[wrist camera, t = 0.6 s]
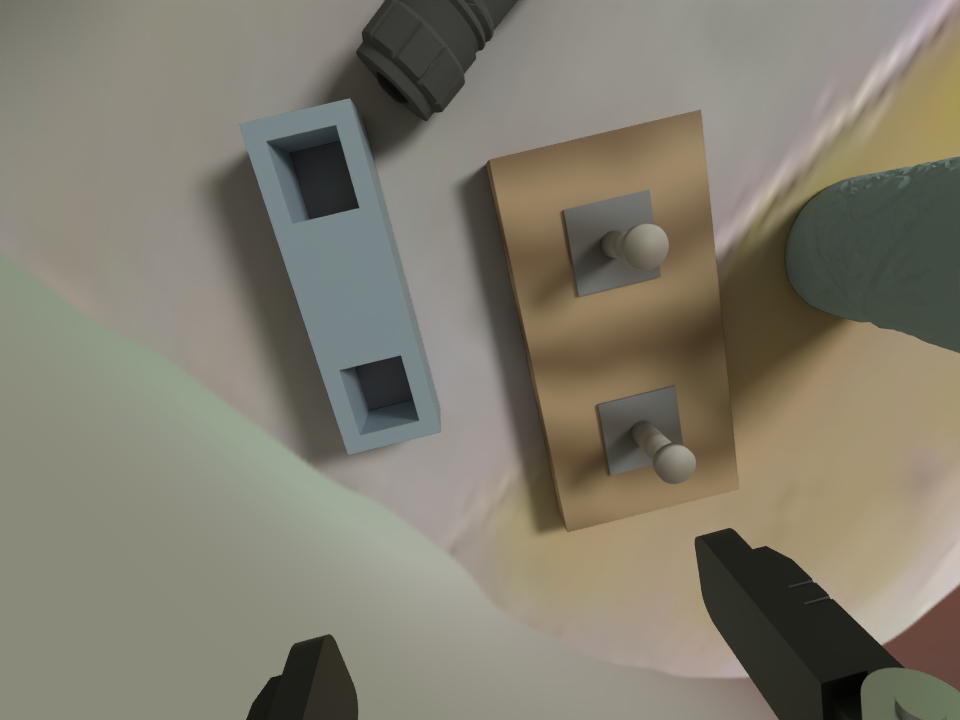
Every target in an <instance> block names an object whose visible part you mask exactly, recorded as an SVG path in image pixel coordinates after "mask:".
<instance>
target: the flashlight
mask: <svg viewBox="0 0 960 720" xmlns="http://www.w3.org/2000/svg"><path fill="white" fill-rule="evenodd" d="M516 1H517V0H385V1H384V3H383V4H382V5H381V7H380V8H379V10H378V11H377V12H376V14H375V15H374V16H373V18H372V19H371V20H370V22H369V23H368V24H367V26H366V27H365V28H364V30H363V31H362V38H363V43H362V44H361V45H360V47H359V48H358V50H357V51H356V53H357V55H358V56H359V58H360V59H361V61H362V62H363V63H364V64H365V65H366V67H367V68H368V69H369V70H370V71H371V72H372V74H373V75H374V76H375V77H376V78H377V80H378V82H379V84H380V86H381V87H382V88H383V89H384V90H385V91H386V92H387V93H388V94H389V95H390V96H391V97H392V98H393V99H394V100H396V101H397V102H399V103H403V104H404V105H405V106H406V107H407V108H408V109H409V110H411V111H412V112H413V113H414V114H416V115H417V116H418V117H420V118H421V119H423V120H425V121H427V120H428V119H429V118H430V116H431V115H432V114H433V113H434V112H436V113H437V112H443V110H444V109H445V108H446V107H447V105H448V104H449V103H450V102H451V100H452V99H453V98H454V97H455V95H456V94H457V93H458V92H459V90H460V89H461V88H462V87H463V85H464V83H465V80H464V74H465V72H466V71H467V70H468V68H469V67H470V66H471V65H472V63H473V62H474V61H475V60H476V55H475V53H476V52H477V51H480V50H483V48H484V46H485V42H487V41H490V39H491V38H492V36H493V31H494V29H495V28H496V27H497V25H498V24H499V23H500V22H501V20H502V19H503V18H504V17H505V15H506V14H507V13H508V12H509V10H510V9H511V8H512V6H513V5H514V4H515V3H516Z"/></svg>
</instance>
